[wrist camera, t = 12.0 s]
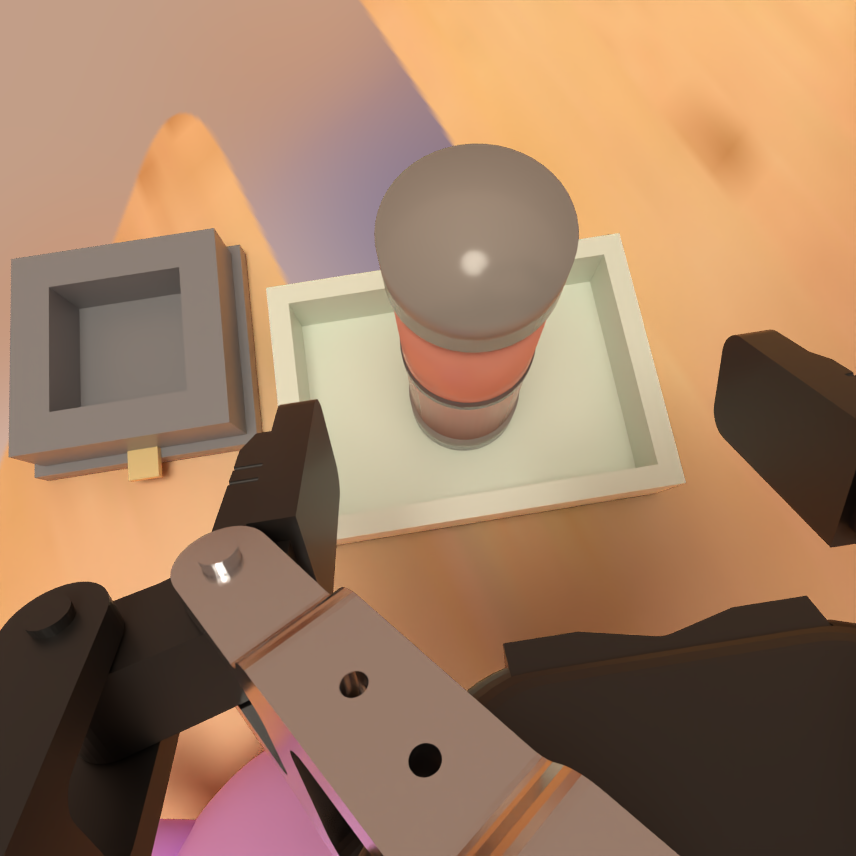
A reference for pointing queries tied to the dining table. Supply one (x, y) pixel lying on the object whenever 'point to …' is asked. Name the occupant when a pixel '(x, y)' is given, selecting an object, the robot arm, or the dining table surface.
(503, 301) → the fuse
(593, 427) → the parts tray
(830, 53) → the dining table surface
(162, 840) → the teapot
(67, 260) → the socket block
